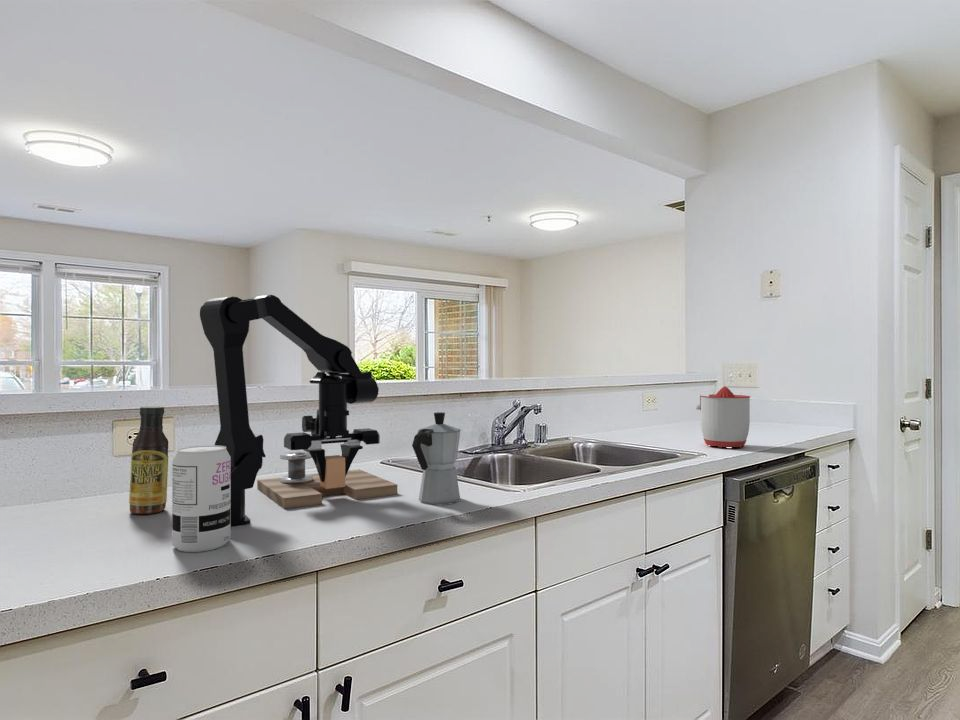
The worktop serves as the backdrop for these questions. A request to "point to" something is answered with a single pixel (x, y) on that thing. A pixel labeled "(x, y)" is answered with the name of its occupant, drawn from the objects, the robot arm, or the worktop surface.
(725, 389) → the citrus juicer
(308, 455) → the bobbin
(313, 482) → the board
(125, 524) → the worktop surface
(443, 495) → the coffee maker
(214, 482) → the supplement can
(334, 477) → the block
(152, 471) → the sauce bottle
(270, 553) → the worktop surface
